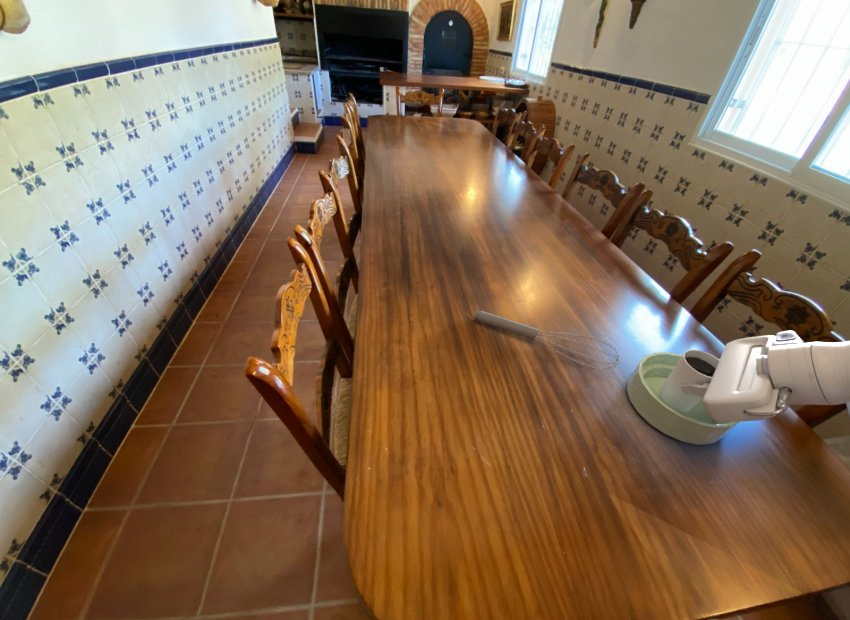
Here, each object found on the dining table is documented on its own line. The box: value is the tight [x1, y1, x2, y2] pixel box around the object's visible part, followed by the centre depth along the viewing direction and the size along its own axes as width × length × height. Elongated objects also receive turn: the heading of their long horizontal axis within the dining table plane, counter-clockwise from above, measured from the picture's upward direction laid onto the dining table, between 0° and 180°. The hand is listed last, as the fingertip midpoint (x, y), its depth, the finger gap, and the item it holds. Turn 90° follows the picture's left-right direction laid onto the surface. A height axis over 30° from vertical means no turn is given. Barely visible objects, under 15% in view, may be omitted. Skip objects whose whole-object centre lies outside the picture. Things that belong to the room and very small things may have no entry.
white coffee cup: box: [659, 349, 720, 413], centre depth 64 cm, size 7×7×10 cm
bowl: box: [626, 351, 740, 446], centre depth 68 cm, size 17×17×6 cm
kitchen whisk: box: [466, 308, 620, 371], centre depth 79 cm, size 6×34×6 cm, turn 62°
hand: (687, 379), depth 64 cm, fingers closed on white coffee cup, 4 cm apart
